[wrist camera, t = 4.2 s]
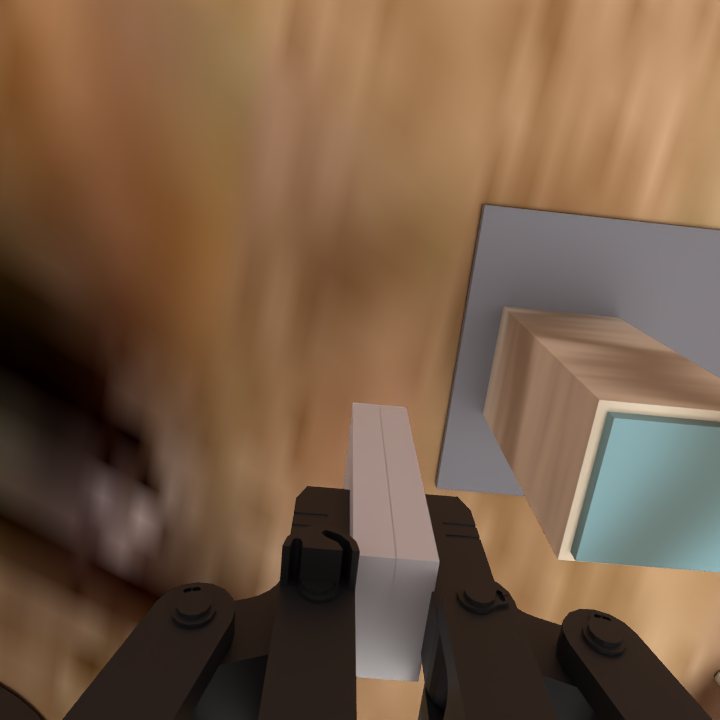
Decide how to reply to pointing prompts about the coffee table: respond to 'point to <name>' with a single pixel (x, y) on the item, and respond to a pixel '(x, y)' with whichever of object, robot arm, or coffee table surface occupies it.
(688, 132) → the coffee table surface
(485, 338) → the felt mat
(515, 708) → the robot arm
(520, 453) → the beech block
